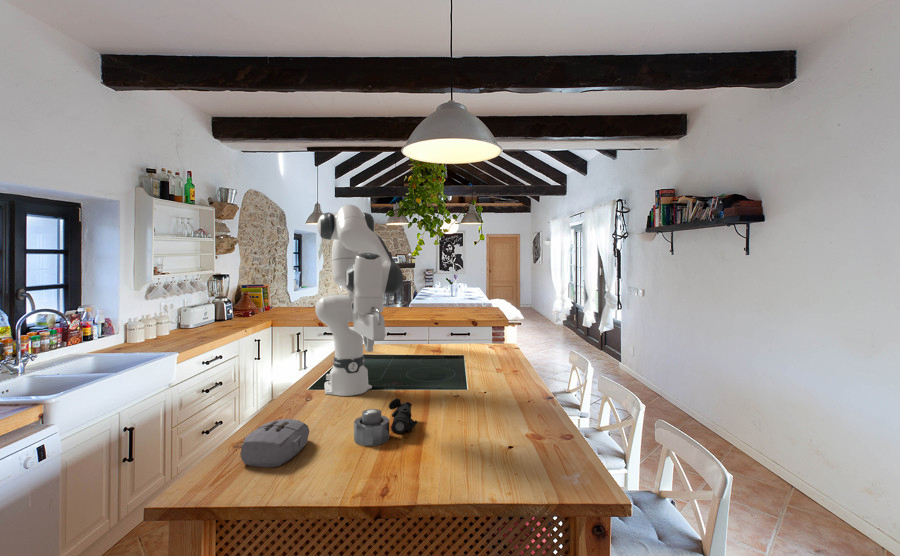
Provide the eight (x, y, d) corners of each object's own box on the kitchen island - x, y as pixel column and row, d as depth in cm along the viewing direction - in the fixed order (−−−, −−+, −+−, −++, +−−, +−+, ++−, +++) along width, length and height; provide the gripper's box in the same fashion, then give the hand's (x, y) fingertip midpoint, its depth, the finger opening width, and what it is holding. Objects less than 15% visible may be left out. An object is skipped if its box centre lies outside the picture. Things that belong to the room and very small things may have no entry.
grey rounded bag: (287, 470, 113) (319, 439, 132) (287, 438, 112) (319, 411, 132) (231, 467, 114) (271, 436, 134) (230, 435, 114) (270, 409, 134)
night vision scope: (401, 449, 131) (375, 427, 131) (406, 427, 149) (383, 408, 148) (418, 428, 131) (392, 407, 131) (421, 409, 149) (398, 390, 148)
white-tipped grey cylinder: (359, 425, 133) (359, 410, 133) (377, 422, 136) (377, 407, 136) (365, 432, 128) (365, 415, 128) (383, 429, 131) (383, 412, 131)
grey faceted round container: (350, 436, 134) (350, 418, 134) (382, 430, 139) (382, 412, 139) (360, 448, 125) (360, 429, 125) (393, 441, 130) (393, 423, 130)
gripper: (390, 309, 129) (390, 356, 129) (368, 302, 147) (368, 344, 147) (369, 310, 126) (369, 358, 126) (349, 303, 144) (349, 346, 144)
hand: (368, 351), depth 137 cm, fingers closed
